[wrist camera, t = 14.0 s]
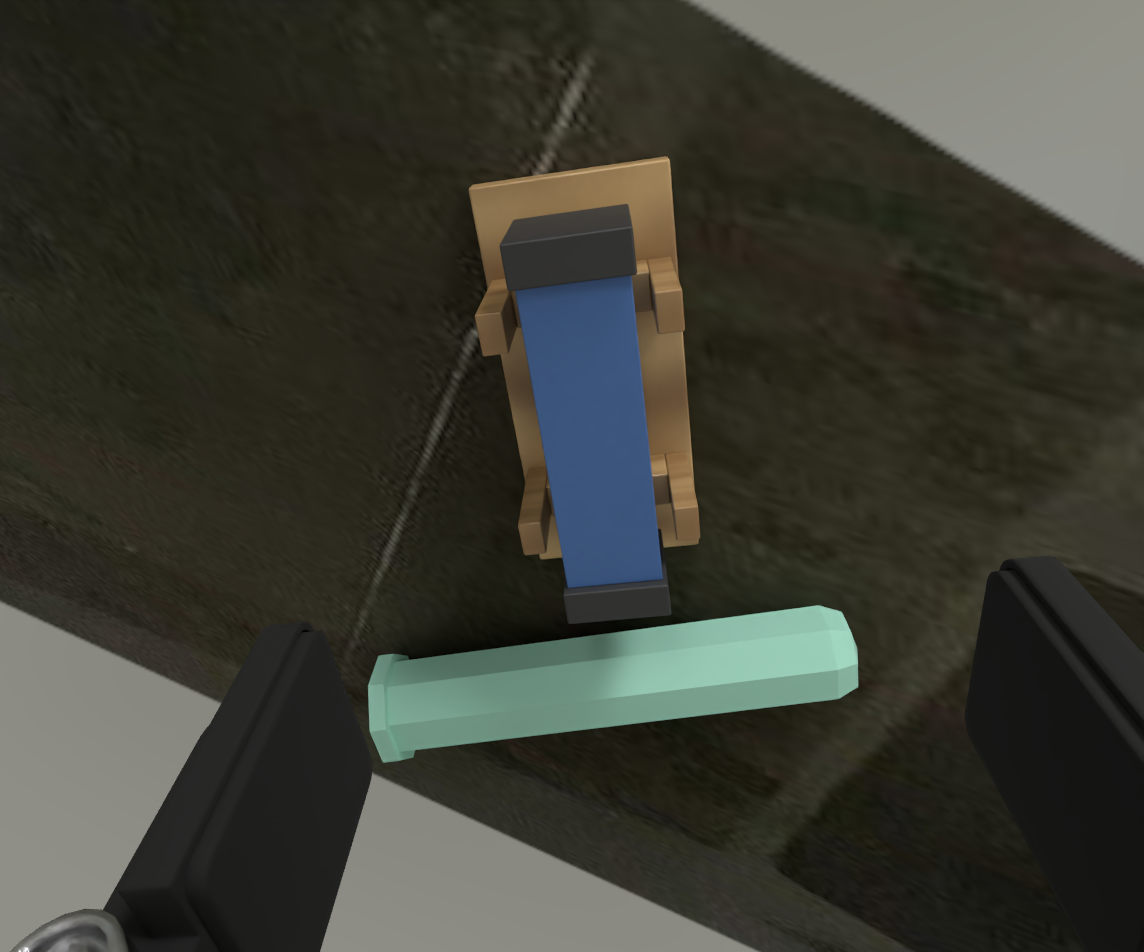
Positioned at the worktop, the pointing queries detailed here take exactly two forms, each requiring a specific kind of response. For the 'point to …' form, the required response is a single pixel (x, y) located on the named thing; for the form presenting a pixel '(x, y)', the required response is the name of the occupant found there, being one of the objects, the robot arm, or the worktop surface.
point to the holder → (655, 320)
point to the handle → (590, 406)
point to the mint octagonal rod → (611, 680)
